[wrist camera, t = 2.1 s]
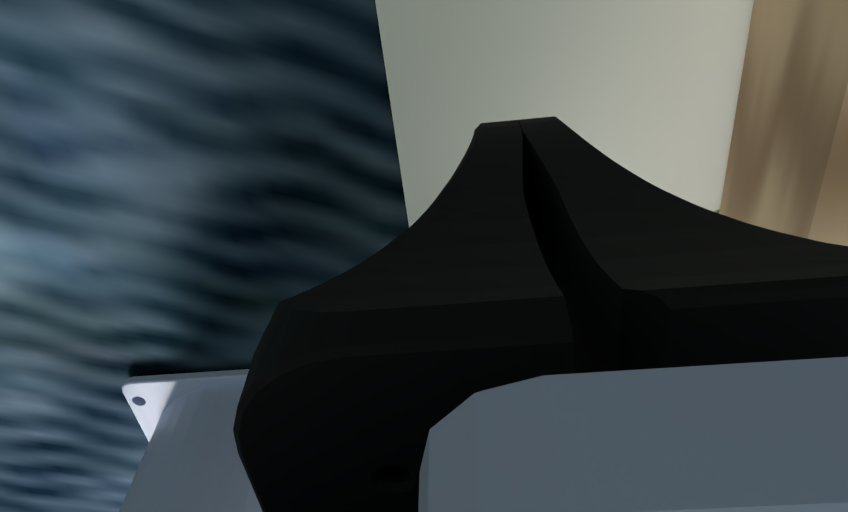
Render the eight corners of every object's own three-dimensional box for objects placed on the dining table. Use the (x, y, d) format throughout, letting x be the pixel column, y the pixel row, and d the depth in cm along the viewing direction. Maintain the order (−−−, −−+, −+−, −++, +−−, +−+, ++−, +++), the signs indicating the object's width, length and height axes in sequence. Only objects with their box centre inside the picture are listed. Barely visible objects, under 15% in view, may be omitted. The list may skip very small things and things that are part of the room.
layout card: (1009, 485, 29) (1017, 495, 29) (452, 510, 31) (452, 520, 31) (1482, -275, 14) (1513, -277, 14) (357, -133, 16) (355, -130, 16)
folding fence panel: (748, 236, 21) (820, 347, 17) (715, 238, 21) (779, 350, 17) (820, -131, 15) (954, -93, 11) (774, -125, 16) (890, -85, 11)
